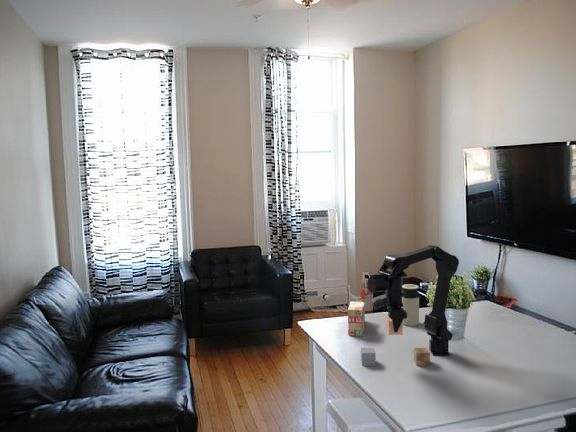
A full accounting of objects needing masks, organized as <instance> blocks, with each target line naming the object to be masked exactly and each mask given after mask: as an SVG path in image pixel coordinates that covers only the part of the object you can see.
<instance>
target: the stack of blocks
mask: <svg viewBox="0 0 576 432" xmlns="http://www.w3.org/2000/svg"><path fill="white" fill-rule="evenodd" d="M365 310H366V309H365V302H364V301H350V302H349V306H348V308H347V325H348V327H347V335H349V336H348V337H363V335H364V329H365V328H364V327H365V323H366V320H365V319H366V312H365Z"/></svg>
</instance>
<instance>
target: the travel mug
mask: <svg viewBox="0 0 576 432" xmlns="http://www.w3.org/2000/svg"><path fill="white" fill-rule="evenodd" d="M418 290H419V285H417V284H411V283H408V284H402V292H403V296H402V303H403V307H401V308H404V309H405V310H406V312H407V318H406V319H404V320H403V321H402V325H403V326H408V327H416V326H418V325H419V324H420V292H419V291H418Z"/></svg>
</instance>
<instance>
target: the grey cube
mask: <svg viewBox="0 0 576 432" xmlns="http://www.w3.org/2000/svg"><path fill="white" fill-rule="evenodd" d="M360 361H361V366H365V367H366V366H368V367H370V366H371V367H372V366H374V367H376V362H377V361H376V350H375V347H360Z"/></svg>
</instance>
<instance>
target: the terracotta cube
mask: <svg viewBox="0 0 576 432" xmlns="http://www.w3.org/2000/svg"><path fill="white" fill-rule="evenodd" d="M386 331H387V334H388V335H389V336H392V335H393V336H394V335H395V336H396V335H398V336H399V335H400V336H402V335H404V334H403V324H402V323H401V325H400V328H399V330H398V332H394V328H393V323H392V319H391V318H389V316H388V317H386Z"/></svg>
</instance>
